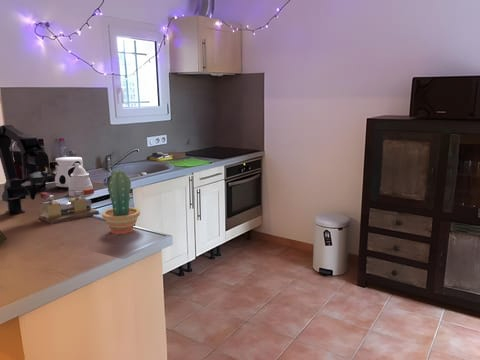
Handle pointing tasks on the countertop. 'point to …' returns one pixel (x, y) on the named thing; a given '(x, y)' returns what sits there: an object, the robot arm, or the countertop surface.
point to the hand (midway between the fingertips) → (32, 199)
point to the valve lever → (47, 196)
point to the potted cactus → (119, 203)
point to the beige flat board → (70, 216)
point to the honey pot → (79, 181)
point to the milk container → (65, 170)
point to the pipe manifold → (68, 205)
